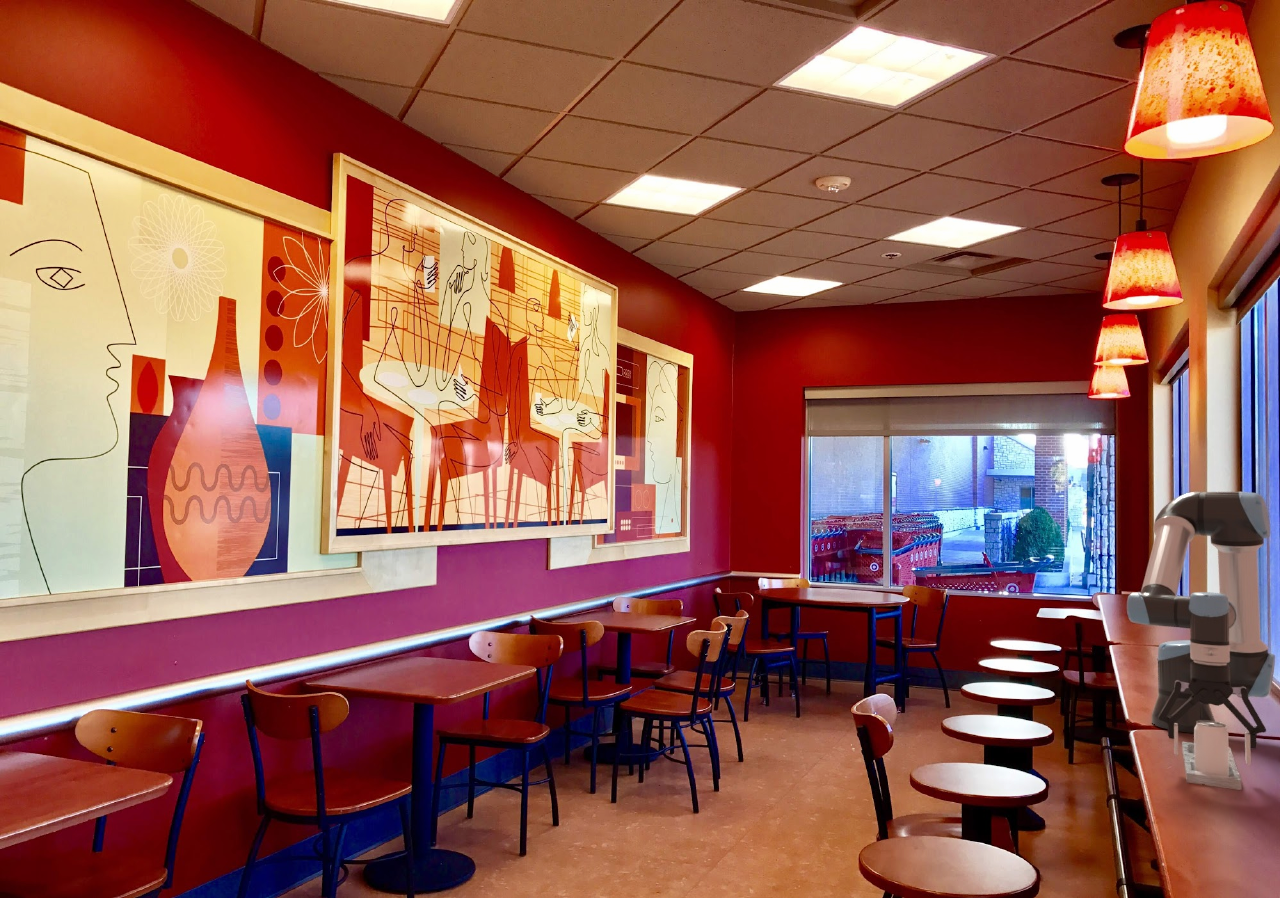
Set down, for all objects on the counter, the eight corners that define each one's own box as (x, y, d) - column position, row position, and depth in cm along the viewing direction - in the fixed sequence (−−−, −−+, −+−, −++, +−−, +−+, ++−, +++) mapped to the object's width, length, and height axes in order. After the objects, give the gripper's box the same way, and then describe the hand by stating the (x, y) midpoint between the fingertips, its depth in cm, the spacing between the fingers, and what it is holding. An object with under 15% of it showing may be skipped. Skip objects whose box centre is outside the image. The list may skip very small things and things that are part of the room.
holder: (1182, 749, 225) (1182, 741, 225) (1230, 755, 220) (1230, 747, 220) (1186, 782, 198) (1186, 773, 199) (1241, 790, 194) (1241, 780, 194)
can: (1224, 775, 204) (1223, 721, 205) (1232, 783, 198) (1231, 728, 199) (1191, 771, 206) (1190, 718, 207) (1198, 780, 200) (1198, 725, 201)
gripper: (1146, 659, 206) (1147, 753, 205) (1279, 671, 194) (1281, 771, 193) (1146, 654, 213) (1147, 745, 212) (1275, 665, 201) (1277, 762, 199)
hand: (1211, 758), depth 202 cm, fingers open, 13 cm apart
